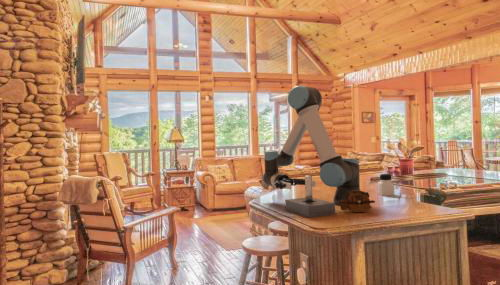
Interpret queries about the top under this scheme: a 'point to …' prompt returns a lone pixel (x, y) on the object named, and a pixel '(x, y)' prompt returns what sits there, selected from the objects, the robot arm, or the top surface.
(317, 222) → the top surface
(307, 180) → the pin
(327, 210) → the pin block
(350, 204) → the wooden carving
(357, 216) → the top surface
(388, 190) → the medicine bottle
